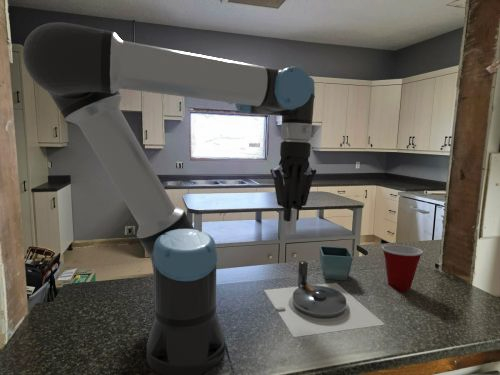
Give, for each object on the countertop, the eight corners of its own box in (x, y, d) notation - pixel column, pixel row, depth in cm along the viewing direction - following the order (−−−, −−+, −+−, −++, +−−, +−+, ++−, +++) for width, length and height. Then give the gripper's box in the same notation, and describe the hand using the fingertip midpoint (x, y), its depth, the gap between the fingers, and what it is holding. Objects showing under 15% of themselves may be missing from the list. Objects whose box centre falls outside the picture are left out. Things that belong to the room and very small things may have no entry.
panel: (293, 342, 68) (294, 335, 68) (263, 294, 89) (263, 288, 89) (384, 329, 73) (385, 322, 73) (336, 286, 94) (336, 281, 94)
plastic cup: (405, 278, 101) (408, 241, 99) (427, 295, 90) (431, 253, 89) (371, 279, 100) (374, 242, 98) (390, 296, 89) (394, 254, 87)
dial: (356, 313, 77) (359, 283, 76) (307, 322, 73) (309, 290, 72) (320, 284, 93) (322, 258, 91) (278, 289, 88) (279, 263, 87)
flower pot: (345, 274, 104) (347, 247, 102) (351, 286, 95) (353, 257, 94) (317, 272, 104) (319, 245, 103) (321, 284, 96) (322, 255, 94)
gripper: (282, 140, 75) (277, 239, 78) (326, 142, 81) (319, 234, 84) (265, 140, 81) (261, 231, 84) (307, 142, 87) (301, 227, 90)
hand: (290, 232), depth 84 cm, fingers closed
